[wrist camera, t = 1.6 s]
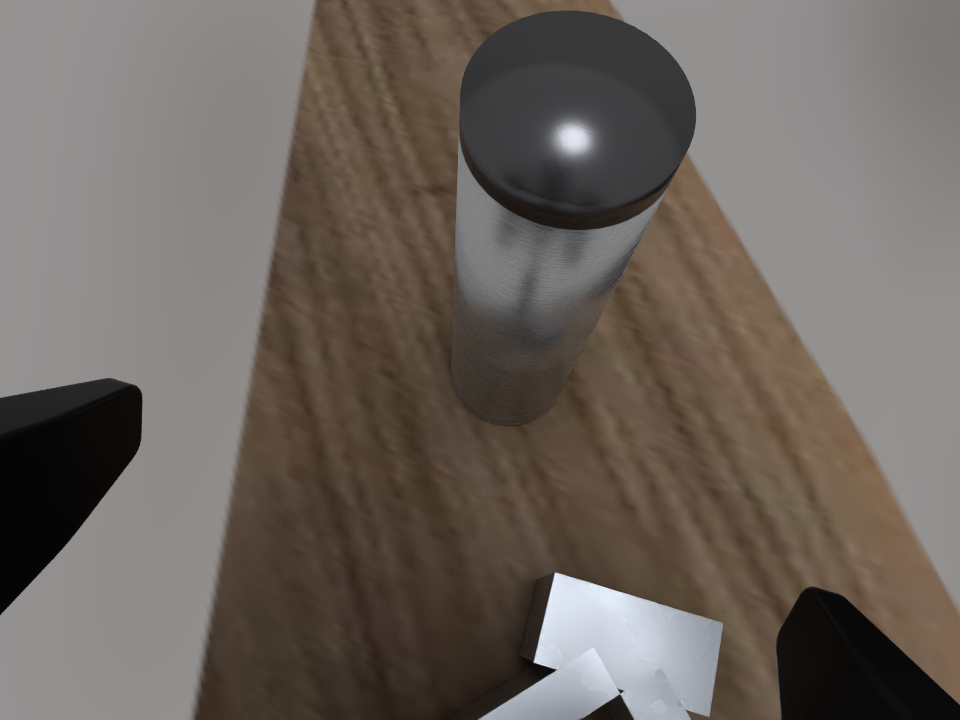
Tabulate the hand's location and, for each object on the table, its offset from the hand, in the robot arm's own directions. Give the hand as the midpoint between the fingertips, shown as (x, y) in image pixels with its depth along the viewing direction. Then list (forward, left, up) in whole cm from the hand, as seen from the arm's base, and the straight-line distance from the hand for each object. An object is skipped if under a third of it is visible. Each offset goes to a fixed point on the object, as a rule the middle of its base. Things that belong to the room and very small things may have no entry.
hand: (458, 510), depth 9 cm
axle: (+2, +6, -13) cm, 14 cm away
